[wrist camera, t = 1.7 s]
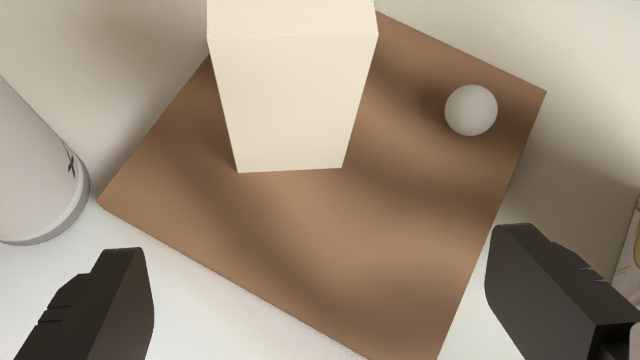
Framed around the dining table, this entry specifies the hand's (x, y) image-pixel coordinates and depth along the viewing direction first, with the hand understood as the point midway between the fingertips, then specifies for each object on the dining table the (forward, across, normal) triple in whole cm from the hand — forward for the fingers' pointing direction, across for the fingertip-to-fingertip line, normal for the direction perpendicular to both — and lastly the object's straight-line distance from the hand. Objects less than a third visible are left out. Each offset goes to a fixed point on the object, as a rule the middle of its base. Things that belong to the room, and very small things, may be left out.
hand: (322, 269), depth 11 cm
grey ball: (+18, -11, +2) cm, 21 cm away
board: (+19, -3, +4) cm, 19 cm away
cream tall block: (+18, 0, +2) cm, 18 cm away
